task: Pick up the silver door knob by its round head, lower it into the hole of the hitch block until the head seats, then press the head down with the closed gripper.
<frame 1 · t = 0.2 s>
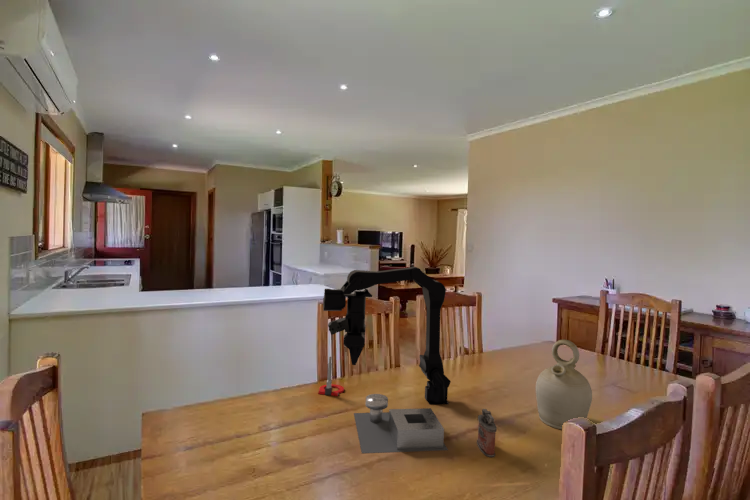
hand: (354, 360, 128), 14 cm above the table, fingers open, 9 cm apart
jug: (561, 422, 122), on the table
silver door knob: (375, 420, 117), resting on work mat
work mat: (396, 431, 112), on the table
lighter: (485, 450, 104), on the table
hitch block: (414, 436, 109), resting on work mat
tow hook: (331, 392, 138), on the table
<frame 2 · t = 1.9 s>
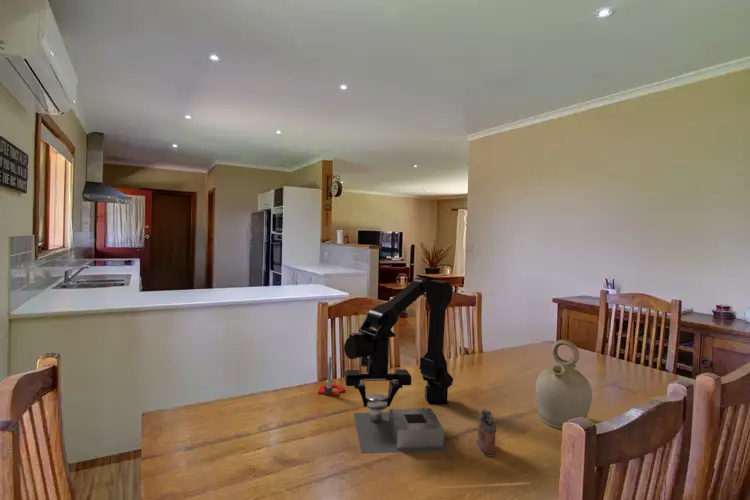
hand: (376, 406, 117), 4 cm above the table, fingers closed on silver door knob, 6 cm apart
silver door knob: (375, 420, 117), resting on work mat, touching gripper
everything else where it was.
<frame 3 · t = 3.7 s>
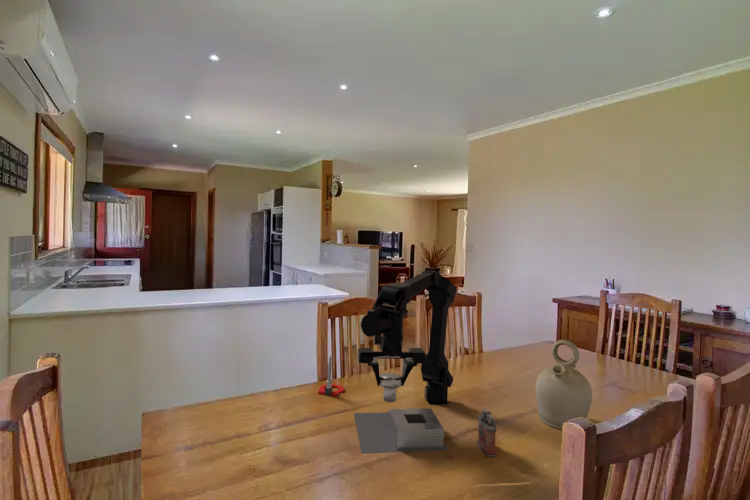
hand: (390, 385, 114), 12 cm above the table, fingers closed on silver door knob, 6 cm apart
silver door knob: (389, 399, 114), point 8 cm above the table, touching gripper
everything else where it was.
when the fingers open (6 cm above the table, at t = 5.7 s): silver door knob drops 1 cm, resting on hitch block.
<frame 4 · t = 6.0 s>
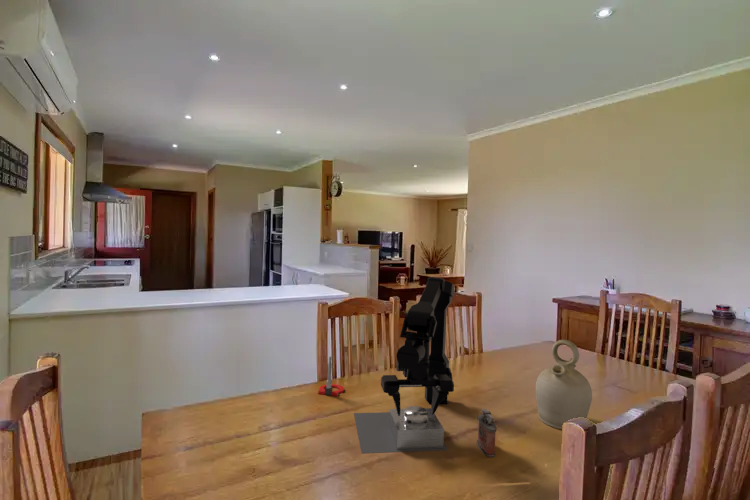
hand: (415, 414, 109), 6 cm above the table, fingers open, 9 cm apart
silver door knob: (414, 435, 109), point 1 cm above the table, touching hitch block
everything else where it was.
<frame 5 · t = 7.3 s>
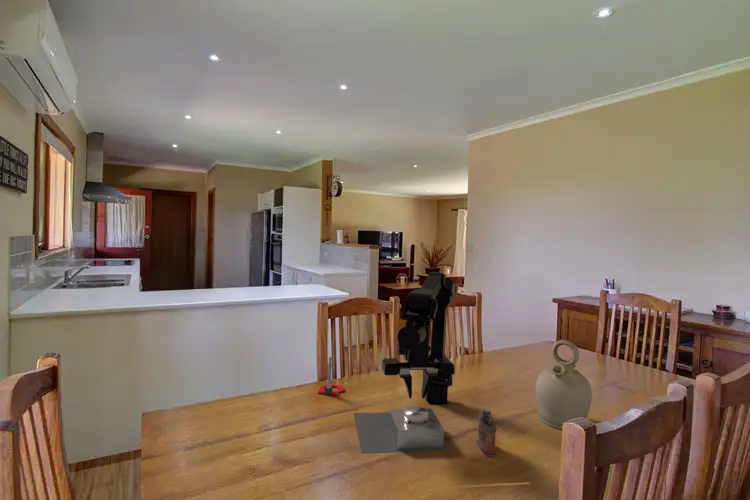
hand: (416, 398, 108), 11 cm above the table, fingers open, 3 cm apart
nothing on the table moved.
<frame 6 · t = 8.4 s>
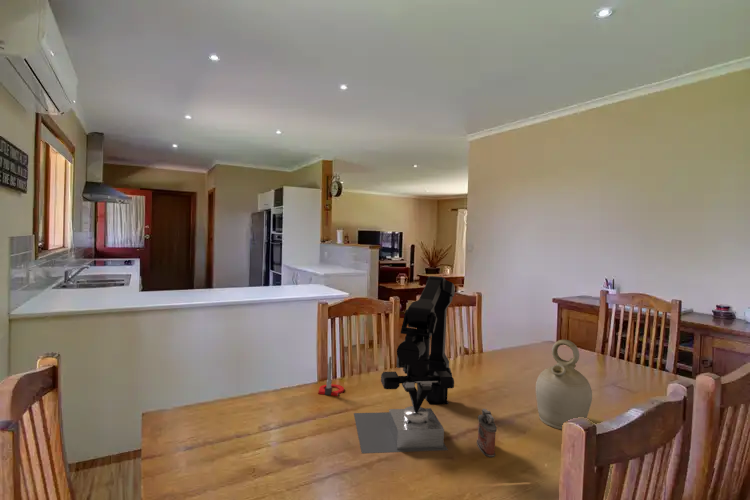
hand: (415, 411, 109), 7 cm above the table, fingers closed, pressing on silver door knob
silver door knob: (414, 435, 109), point 1 cm above the table, touching gripper, hitch block
everything else where it was.
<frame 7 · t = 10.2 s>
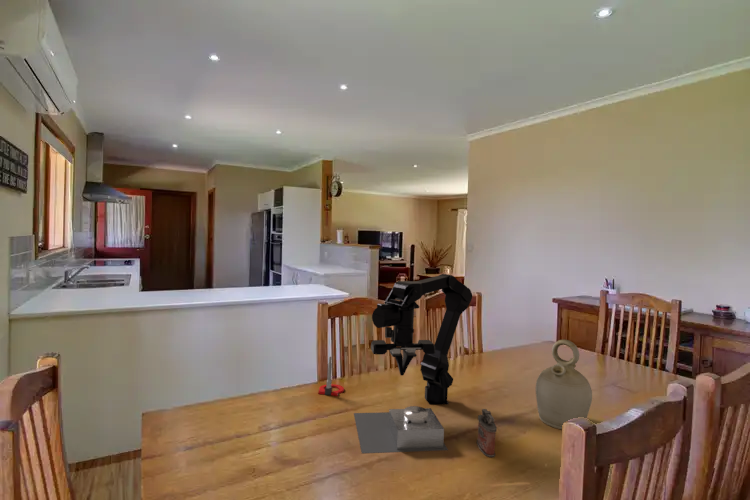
hand: (401, 375, 123), 12 cm above the table, fingers closed
silver door knob: (414, 435, 109), point 1 cm above the table, touching hitch block
everything else where it was.
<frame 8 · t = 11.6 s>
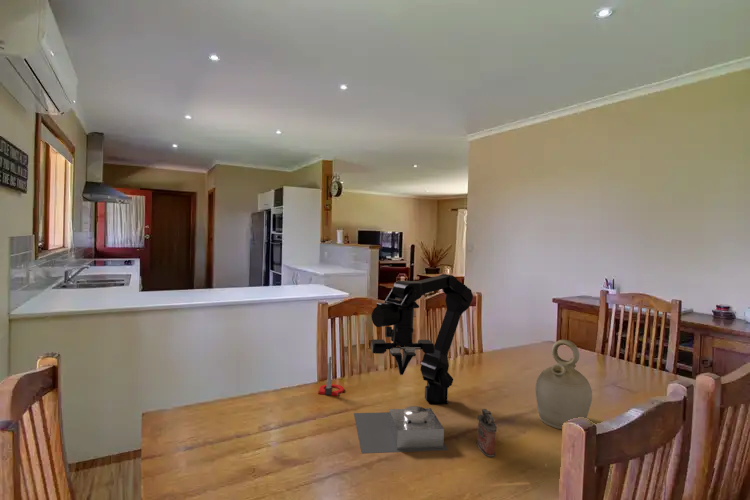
hand: (401, 374, 123), 12 cm above the table, fingers closed
nothing on the table moved.
at the end: silver door knob 0.1 cm off-centre on the hitch block, point 0.5 cm above the hitch block's base; silver door knob tilted 0°; the gripper is holding nothing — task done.
